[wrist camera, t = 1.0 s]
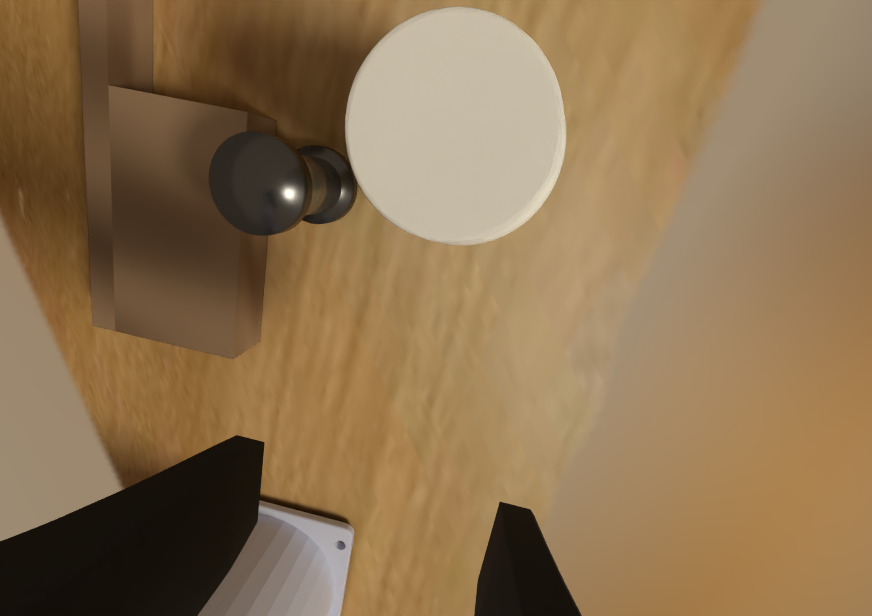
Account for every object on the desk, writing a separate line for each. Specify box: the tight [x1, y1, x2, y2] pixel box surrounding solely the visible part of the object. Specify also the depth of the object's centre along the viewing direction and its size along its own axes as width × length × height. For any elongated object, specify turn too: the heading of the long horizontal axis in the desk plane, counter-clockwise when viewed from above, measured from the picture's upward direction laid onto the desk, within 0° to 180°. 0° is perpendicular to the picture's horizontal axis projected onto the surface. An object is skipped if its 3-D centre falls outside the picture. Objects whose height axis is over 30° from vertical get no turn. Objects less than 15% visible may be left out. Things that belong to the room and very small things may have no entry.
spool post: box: [209, 131, 357, 236], centre depth 14 cm, size 3×3×5 cm
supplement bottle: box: [345, 7, 566, 245], centre depth 12 cm, size 5×5×8 cm
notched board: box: [78, 0, 277, 359], centre depth 16 cm, size 18×6×2 cm, turn 169°
